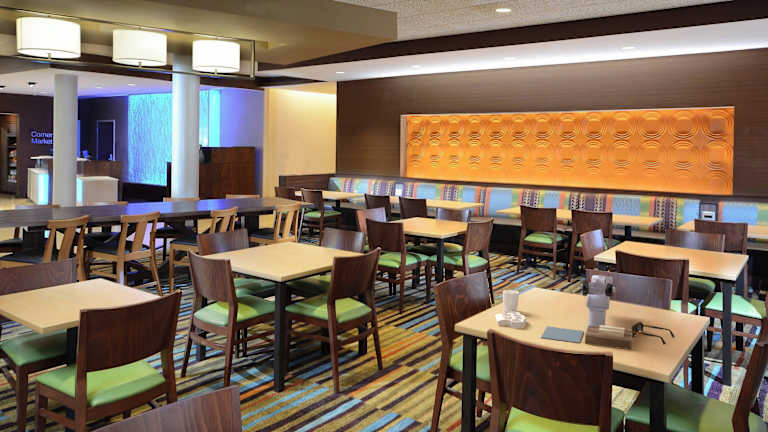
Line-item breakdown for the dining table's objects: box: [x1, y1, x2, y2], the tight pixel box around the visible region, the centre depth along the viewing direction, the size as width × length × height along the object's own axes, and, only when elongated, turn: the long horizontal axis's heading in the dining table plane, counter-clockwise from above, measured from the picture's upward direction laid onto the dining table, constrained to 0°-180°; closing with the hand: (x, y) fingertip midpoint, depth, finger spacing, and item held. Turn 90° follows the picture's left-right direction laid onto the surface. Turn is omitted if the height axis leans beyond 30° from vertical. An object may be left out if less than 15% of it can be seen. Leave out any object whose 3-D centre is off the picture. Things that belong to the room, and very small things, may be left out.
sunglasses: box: [631, 321, 675, 345], centre depth 265 cm, size 14×15×5 cm
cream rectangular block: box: [599, 325, 626, 337], centre depth 258 cm, size 7×10×2 cm
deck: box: [584, 324, 633, 350], centre depth 259 cm, size 16×18×4 cm
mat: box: [540, 326, 584, 344], centre depth 266 cm, size 18×16×1 cm
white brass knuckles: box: [495, 311, 530, 330], centre depth 284 cm, size 3×18×15 cm
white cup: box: [502, 289, 520, 313], centre depth 304 cm, size 8×8×10 cm
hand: (596, 290), depth 257 cm, fingers open, 7 cm apart
